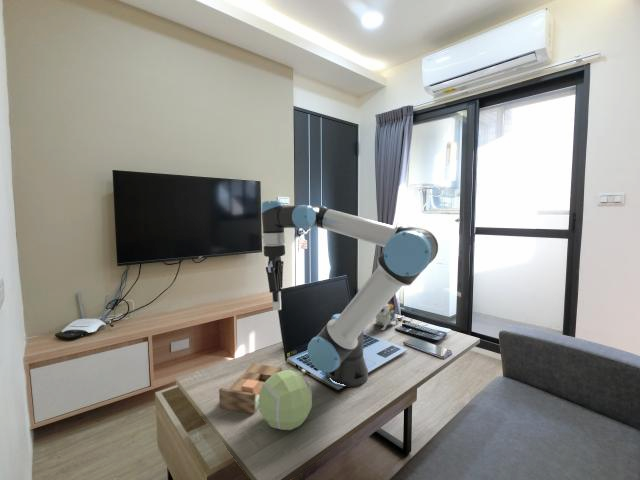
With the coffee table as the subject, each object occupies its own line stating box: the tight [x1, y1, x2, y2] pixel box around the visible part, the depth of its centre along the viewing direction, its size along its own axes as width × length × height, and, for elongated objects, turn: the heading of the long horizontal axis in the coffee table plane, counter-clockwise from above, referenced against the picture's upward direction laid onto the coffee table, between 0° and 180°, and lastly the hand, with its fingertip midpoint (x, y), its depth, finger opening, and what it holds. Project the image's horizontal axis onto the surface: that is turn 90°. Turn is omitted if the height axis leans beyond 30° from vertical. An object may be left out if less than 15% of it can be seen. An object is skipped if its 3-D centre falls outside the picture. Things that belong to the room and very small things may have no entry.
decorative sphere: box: [258, 369, 313, 431], centre depth 89 cm, size 15×15×15 cm
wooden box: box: [218, 363, 283, 415], centre depth 106 cm, size 12×22×6 cm, turn 165°
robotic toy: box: [373, 302, 400, 331], centre depth 160 cm, size 13×17×15 cm
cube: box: [242, 379, 259, 398], centre depth 98 cm, size 4×4×4 cm
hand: (277, 309), depth 111 cm, fingers closed
